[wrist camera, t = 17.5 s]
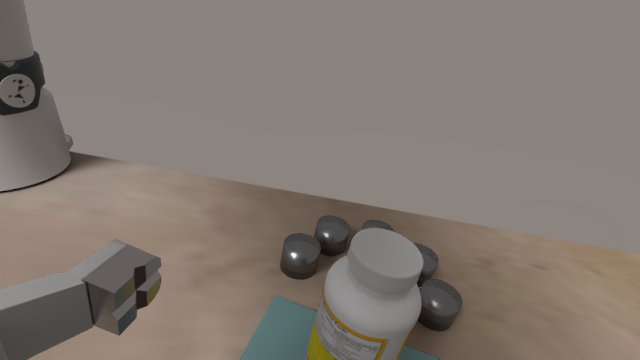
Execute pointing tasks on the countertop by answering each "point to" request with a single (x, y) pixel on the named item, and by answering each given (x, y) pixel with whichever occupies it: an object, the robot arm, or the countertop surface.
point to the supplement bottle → (369, 300)
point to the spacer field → (331, 241)
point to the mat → (294, 335)
